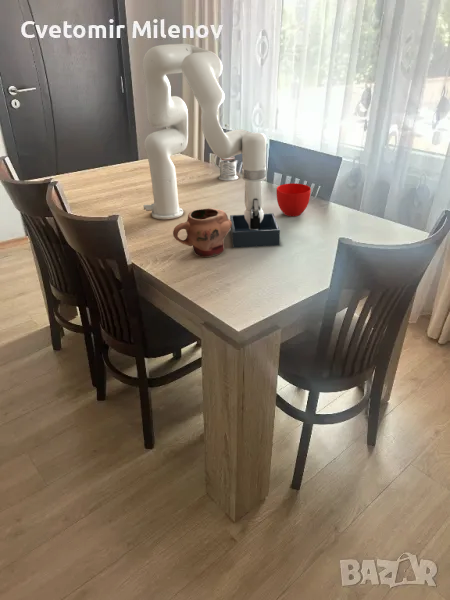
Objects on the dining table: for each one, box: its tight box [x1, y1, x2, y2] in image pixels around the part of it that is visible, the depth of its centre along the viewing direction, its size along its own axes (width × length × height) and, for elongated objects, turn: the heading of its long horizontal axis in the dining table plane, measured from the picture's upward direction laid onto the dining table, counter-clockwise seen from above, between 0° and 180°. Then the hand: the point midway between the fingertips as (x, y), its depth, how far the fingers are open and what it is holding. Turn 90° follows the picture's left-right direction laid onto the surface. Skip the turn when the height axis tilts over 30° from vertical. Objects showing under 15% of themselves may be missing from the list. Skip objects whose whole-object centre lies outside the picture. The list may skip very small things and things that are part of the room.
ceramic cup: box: [276, 182, 312, 217], centre depth 173 cm, size 13×17×10 cm
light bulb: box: [243, 207, 265, 231], centre depth 152 cm, size 7×7×11 cm
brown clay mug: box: [172, 207, 232, 258], centre depth 142 cm, size 20×12×14 cm, turn 122°
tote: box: [229, 212, 281, 249], centre depth 154 cm, size 16×16×6 cm
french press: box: [213, 123, 239, 181], centre depth 212 cm, size 10×12×25 cm
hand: (253, 223), depth 153 cm, fingers open, 9 cm apart
